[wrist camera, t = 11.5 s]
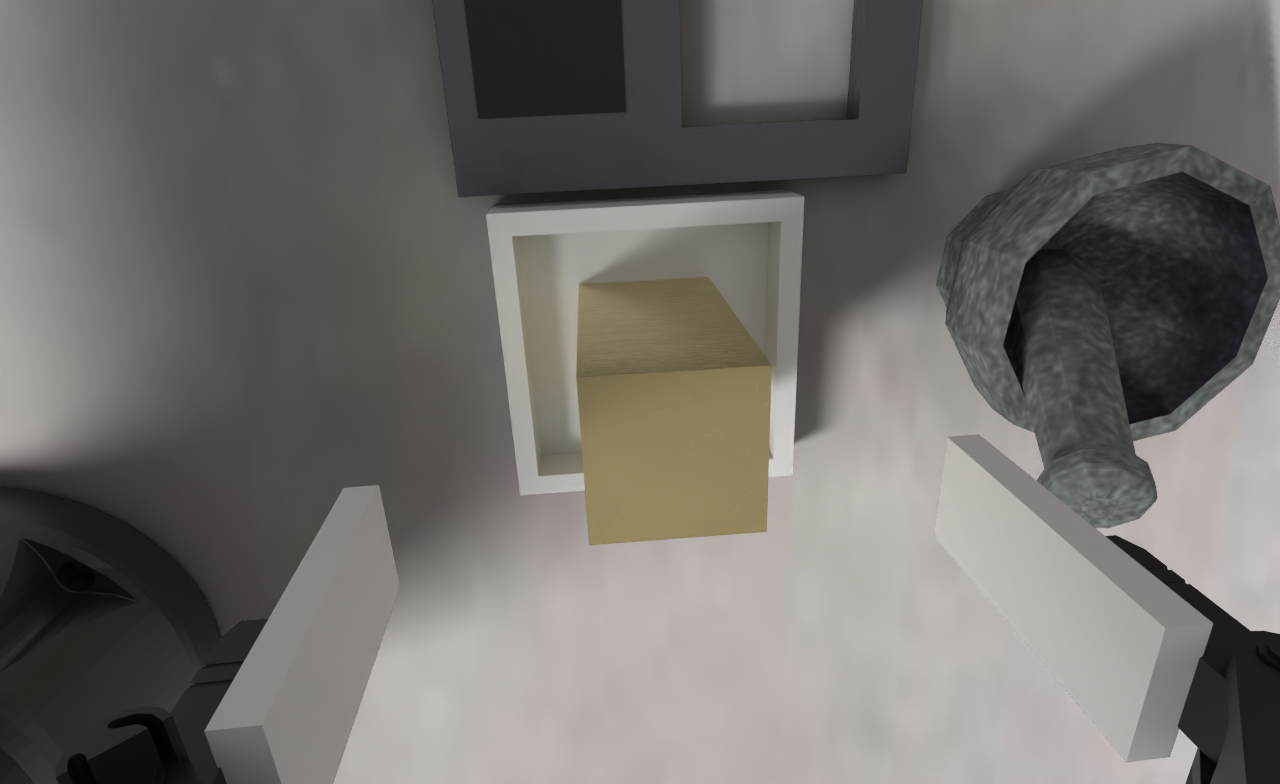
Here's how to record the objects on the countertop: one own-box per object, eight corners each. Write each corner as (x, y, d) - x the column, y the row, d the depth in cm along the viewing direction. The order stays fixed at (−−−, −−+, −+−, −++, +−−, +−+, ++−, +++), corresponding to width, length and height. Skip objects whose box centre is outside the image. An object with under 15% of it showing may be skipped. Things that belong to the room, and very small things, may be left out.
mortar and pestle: (1038, 80, 26) (1375, 65, 15) (1177, 243, 29) (1547, 333, 18) (821, 312, 29) (970, 445, 18) (967, 441, 32) (1174, 625, 21)
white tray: (524, 469, 31) (519, 495, 28) (493, 205, 26) (485, 213, 24) (778, 450, 31) (792, 475, 29) (787, 189, 27) (804, 196, 25)
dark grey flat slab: (464, 192, 26) (458, 197, 25) (420, -138, 22) (411, -152, 21) (893, 170, 27) (907, 173, 26) (921, -152, 23) (939, -166, 22)
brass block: (587, 404, 29) (589, 545, 20) (578, 284, 27) (576, 377, 18) (709, 396, 29) (766, 531, 20) (708, 276, 28) (771, 365, 18)
